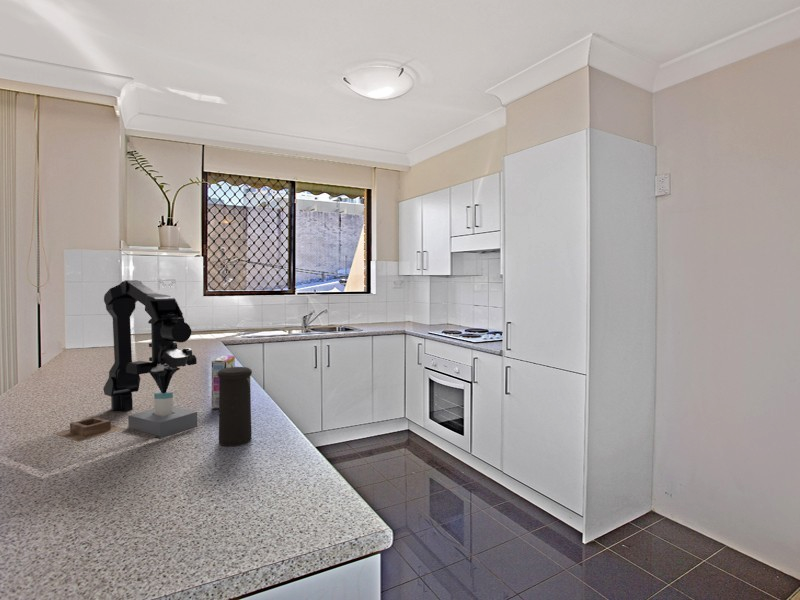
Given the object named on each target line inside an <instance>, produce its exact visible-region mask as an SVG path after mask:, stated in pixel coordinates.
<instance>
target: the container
mask: <svg viewBox="0 0 800 600" xmlns="http://www.w3.org/2000/svg"><path fill="white" fill-rule="evenodd" d="M252 373H253V371H252V369H250V368H249V367H248V366H247V367H246V366H235V367H229V368H223V369H221V370H220V371H219V372H218V376H219V409H218V444H219V445H220V446H224V447H237V446H241V445H245V444H248V443H249V442H251V441H252V408H251V407H252V406H251V405H252V404H251V401H252V400H251V399H252V398H251V397H252V396H251V395H252V393H251V376H252Z"/></svg>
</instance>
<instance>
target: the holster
mask: <svg viewBox="0 0 800 600" xmlns="http://www.w3.org/2000/svg"><path fill="white" fill-rule="evenodd" d="M124 429H126V428H125V427H121V426H118V425H113V424H111V420H108V419H106V418H105V419H104V418H101V417H97V416H93V417H90V418H86V419H82V420H78V421H73V422H71V423H69V430H64V431H60V432H57V433H55V435H58V436H61V437H64V438H67V439H71V440H73V441H77V442H83V441H85V440H91V439H92V438H97V437H101V436H103V435H107V434H110V433H113V432H118V431H121V430H124Z"/></svg>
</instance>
